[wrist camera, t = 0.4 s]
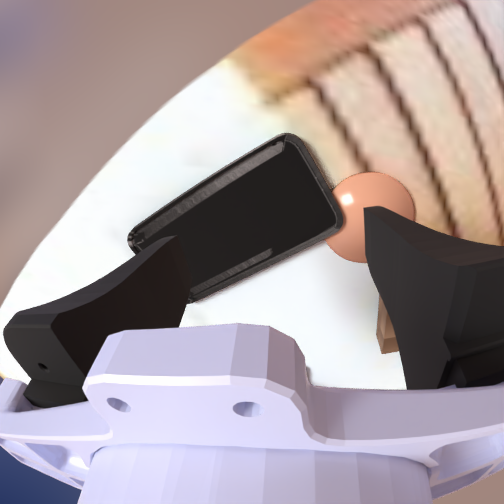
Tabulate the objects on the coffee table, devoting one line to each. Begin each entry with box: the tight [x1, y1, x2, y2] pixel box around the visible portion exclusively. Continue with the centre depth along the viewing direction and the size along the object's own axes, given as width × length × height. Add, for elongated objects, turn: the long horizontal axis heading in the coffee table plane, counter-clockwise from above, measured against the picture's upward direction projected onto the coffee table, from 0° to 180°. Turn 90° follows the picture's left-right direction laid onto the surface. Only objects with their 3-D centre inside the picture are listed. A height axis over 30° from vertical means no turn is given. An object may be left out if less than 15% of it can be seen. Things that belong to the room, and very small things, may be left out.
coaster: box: [325, 172, 414, 263], centre depth 22 cm, size 7×7×1 cm
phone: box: [127, 133, 343, 304], centre depth 23 cm, size 8×1×15 cm
